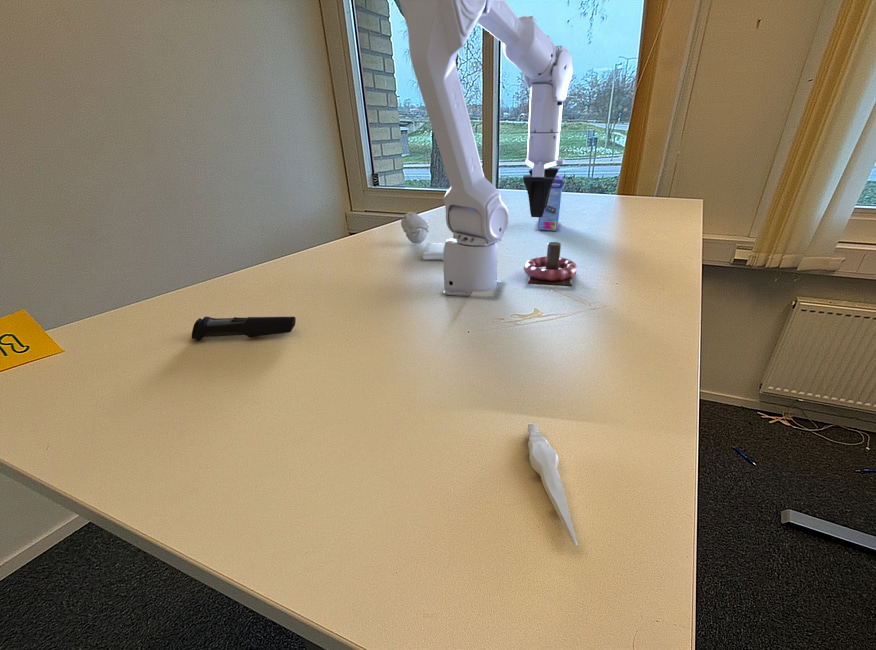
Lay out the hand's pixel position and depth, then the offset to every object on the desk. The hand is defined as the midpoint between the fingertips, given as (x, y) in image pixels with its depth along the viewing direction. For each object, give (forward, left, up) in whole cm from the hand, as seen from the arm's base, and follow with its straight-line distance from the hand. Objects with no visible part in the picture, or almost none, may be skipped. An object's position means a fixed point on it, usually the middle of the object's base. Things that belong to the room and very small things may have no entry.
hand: (538, 212), depth 86 cm
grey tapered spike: (+8, -63, -11) cm, 64 cm away
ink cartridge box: (0, +33, -11) cm, 35 cm away
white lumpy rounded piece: (-30, +11, -6) cm, 33 cm away
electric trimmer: (-40, -41, -11) cm, 58 cm away
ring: (+4, -8, -8) cm, 12 cm away
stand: (+4, -9, -10) cm, 14 cm away
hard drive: (-19, +4, -11) cm, 22 cm away
